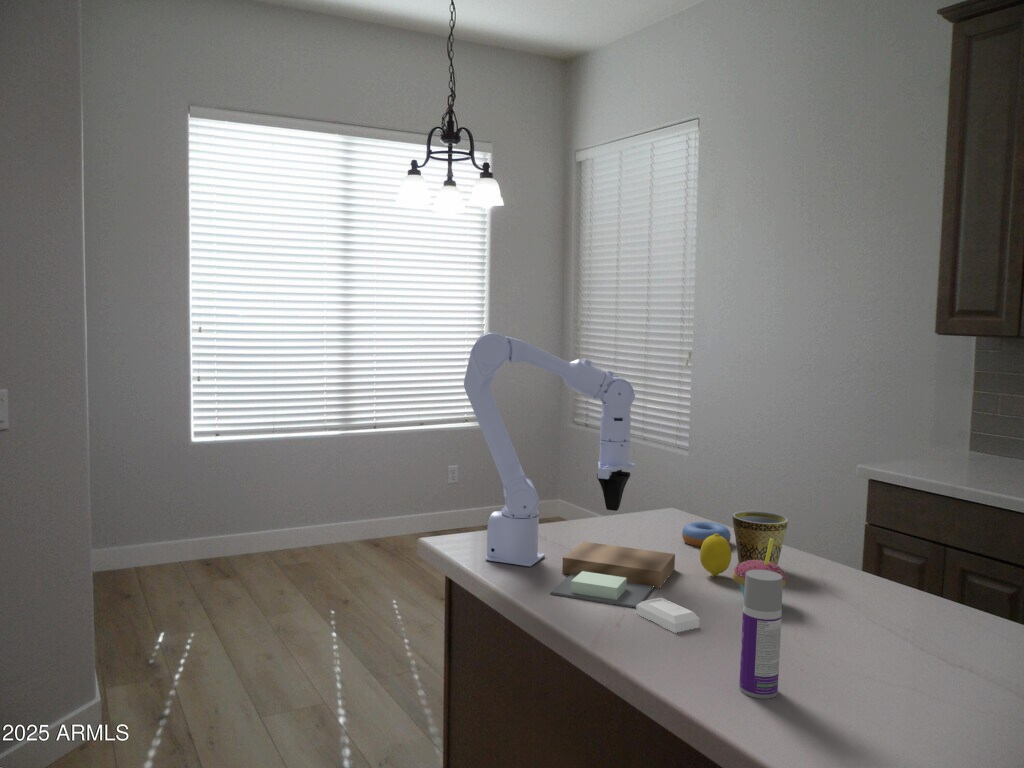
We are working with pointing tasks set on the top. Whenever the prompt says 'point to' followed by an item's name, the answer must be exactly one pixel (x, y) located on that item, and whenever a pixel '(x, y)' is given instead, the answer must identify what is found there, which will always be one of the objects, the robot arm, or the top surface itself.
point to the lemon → (715, 554)
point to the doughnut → (703, 532)
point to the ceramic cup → (758, 534)
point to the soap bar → (668, 614)
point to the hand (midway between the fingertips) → (612, 509)
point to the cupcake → (757, 568)
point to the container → (761, 634)
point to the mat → (628, 598)
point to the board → (620, 563)
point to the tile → (598, 585)
